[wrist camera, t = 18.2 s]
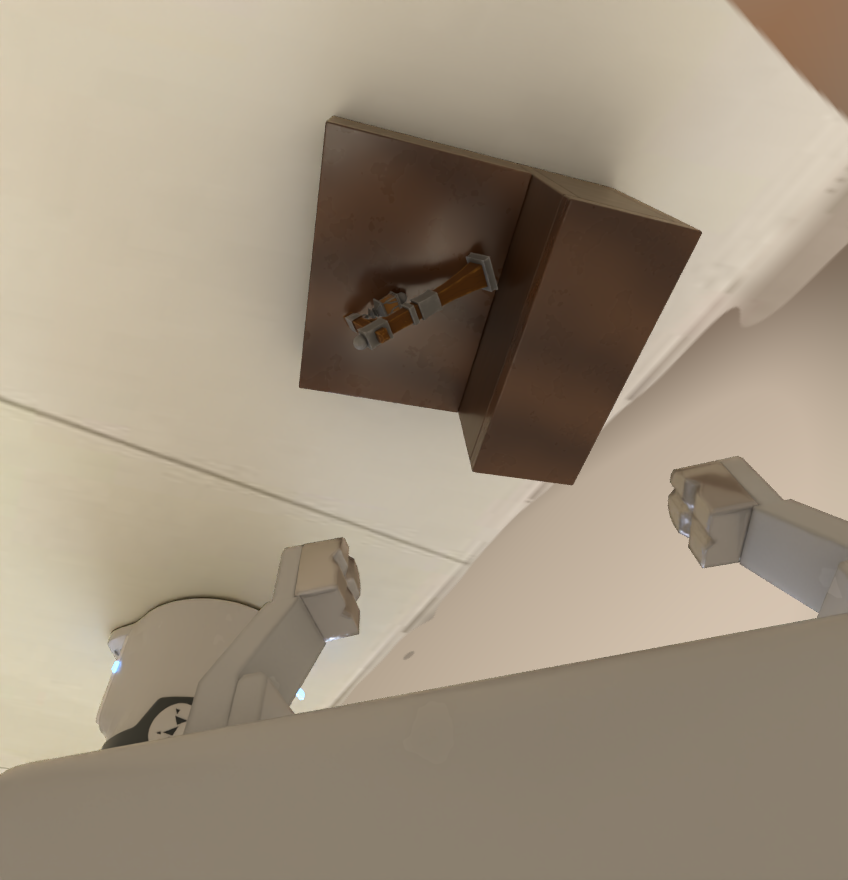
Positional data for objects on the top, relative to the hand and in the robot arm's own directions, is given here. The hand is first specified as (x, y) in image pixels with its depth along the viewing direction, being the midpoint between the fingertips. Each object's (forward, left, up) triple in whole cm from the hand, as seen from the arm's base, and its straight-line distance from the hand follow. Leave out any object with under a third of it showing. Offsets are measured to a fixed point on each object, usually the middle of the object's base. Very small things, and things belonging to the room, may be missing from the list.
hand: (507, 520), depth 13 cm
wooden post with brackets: (-1, +1, -19) cm, 19 cm away
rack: (-1, -1, -22) cm, 22 cm away
